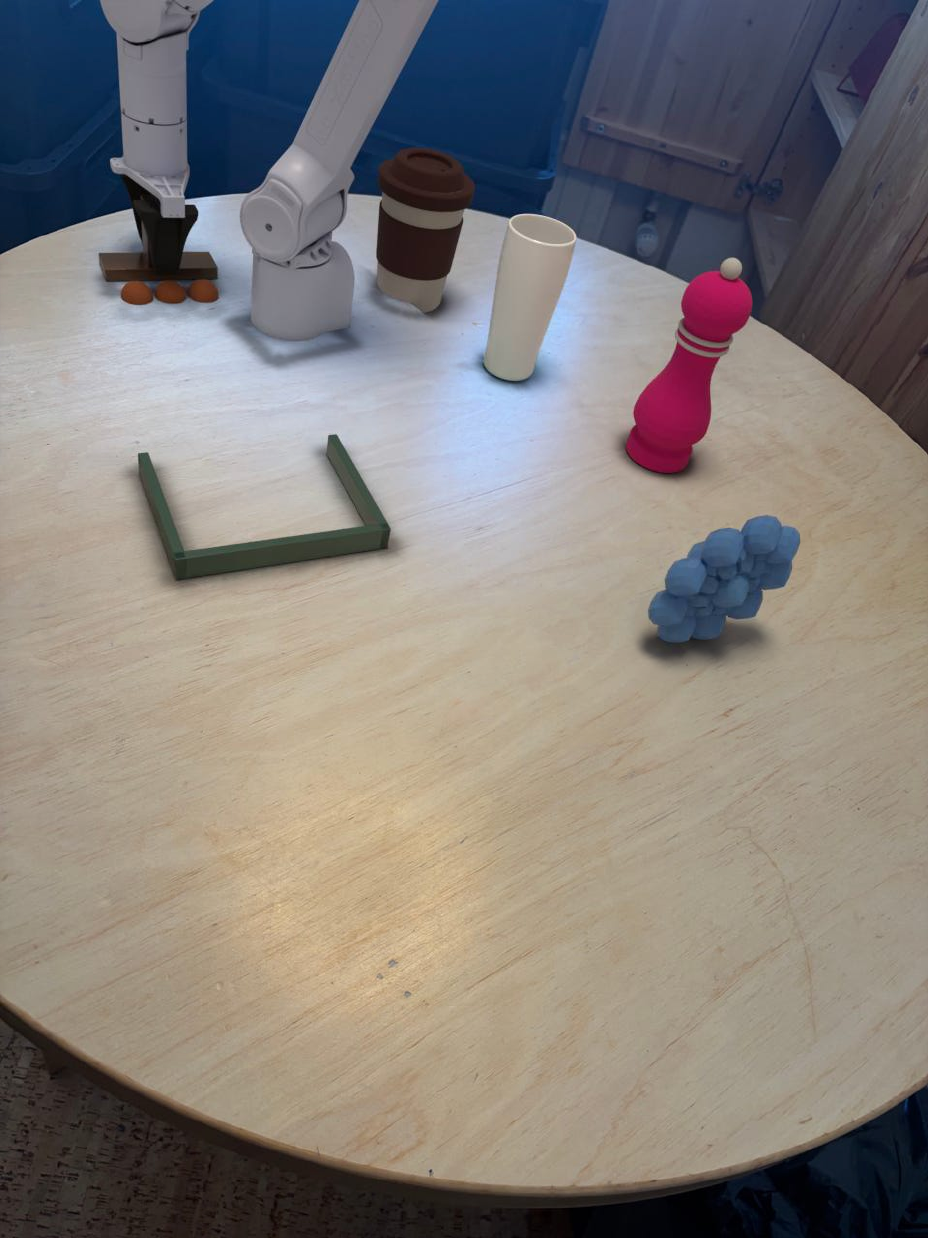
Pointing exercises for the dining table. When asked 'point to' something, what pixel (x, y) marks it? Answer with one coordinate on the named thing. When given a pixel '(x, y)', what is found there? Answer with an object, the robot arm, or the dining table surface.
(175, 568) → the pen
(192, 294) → the ball
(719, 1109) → the dining table surface
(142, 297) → the ball
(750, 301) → the pepper mill
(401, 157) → the coffee cup
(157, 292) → the ball middle
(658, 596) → the grapes
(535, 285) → the drinking glass
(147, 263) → the brush
